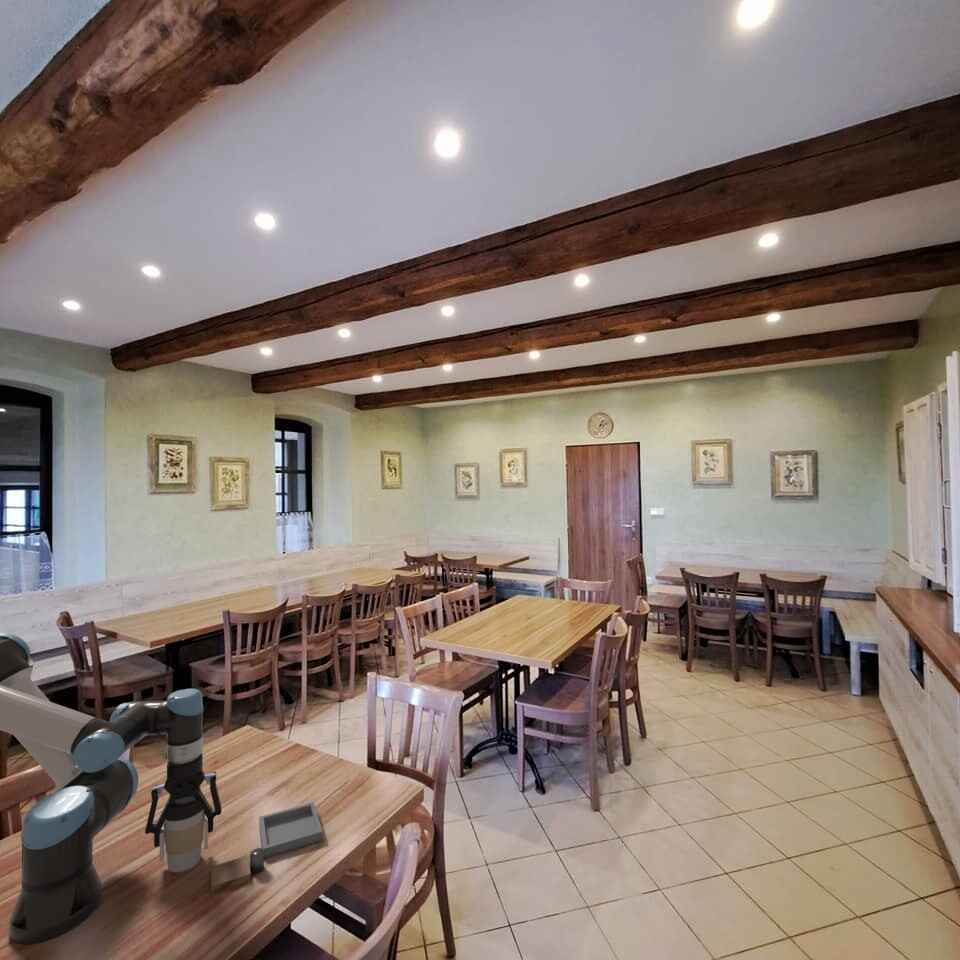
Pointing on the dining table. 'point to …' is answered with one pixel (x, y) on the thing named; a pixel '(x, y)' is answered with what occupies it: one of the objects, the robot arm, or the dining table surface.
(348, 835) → the dining table surface
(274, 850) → the tray
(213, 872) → the board
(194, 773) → the robot arm
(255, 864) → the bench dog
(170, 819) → the coffee cup
